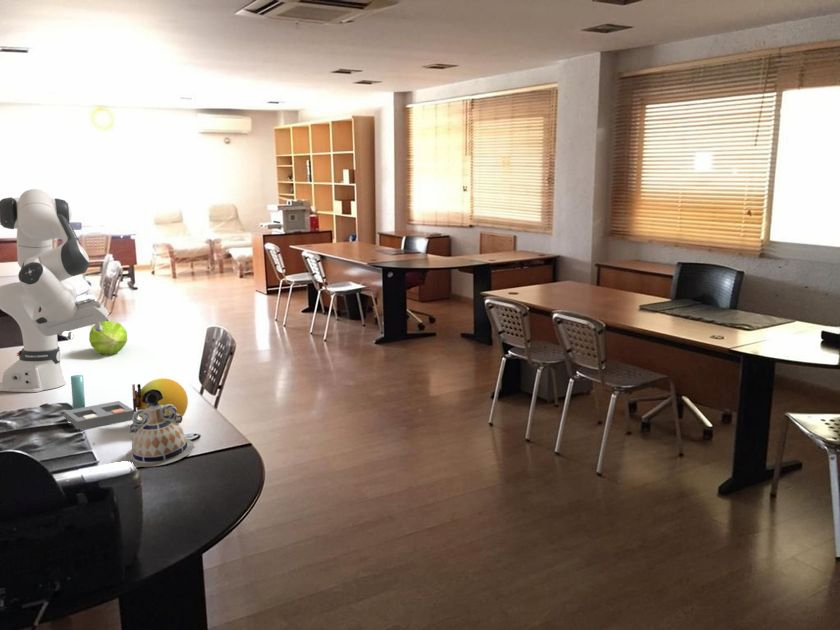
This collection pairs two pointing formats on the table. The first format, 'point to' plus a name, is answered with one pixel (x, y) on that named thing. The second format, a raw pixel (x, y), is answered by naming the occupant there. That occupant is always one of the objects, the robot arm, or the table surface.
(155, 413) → the figurine
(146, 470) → the table surface
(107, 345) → the lettuce
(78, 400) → the teal rounded cylinder
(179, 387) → the emoji
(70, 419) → the socket board
